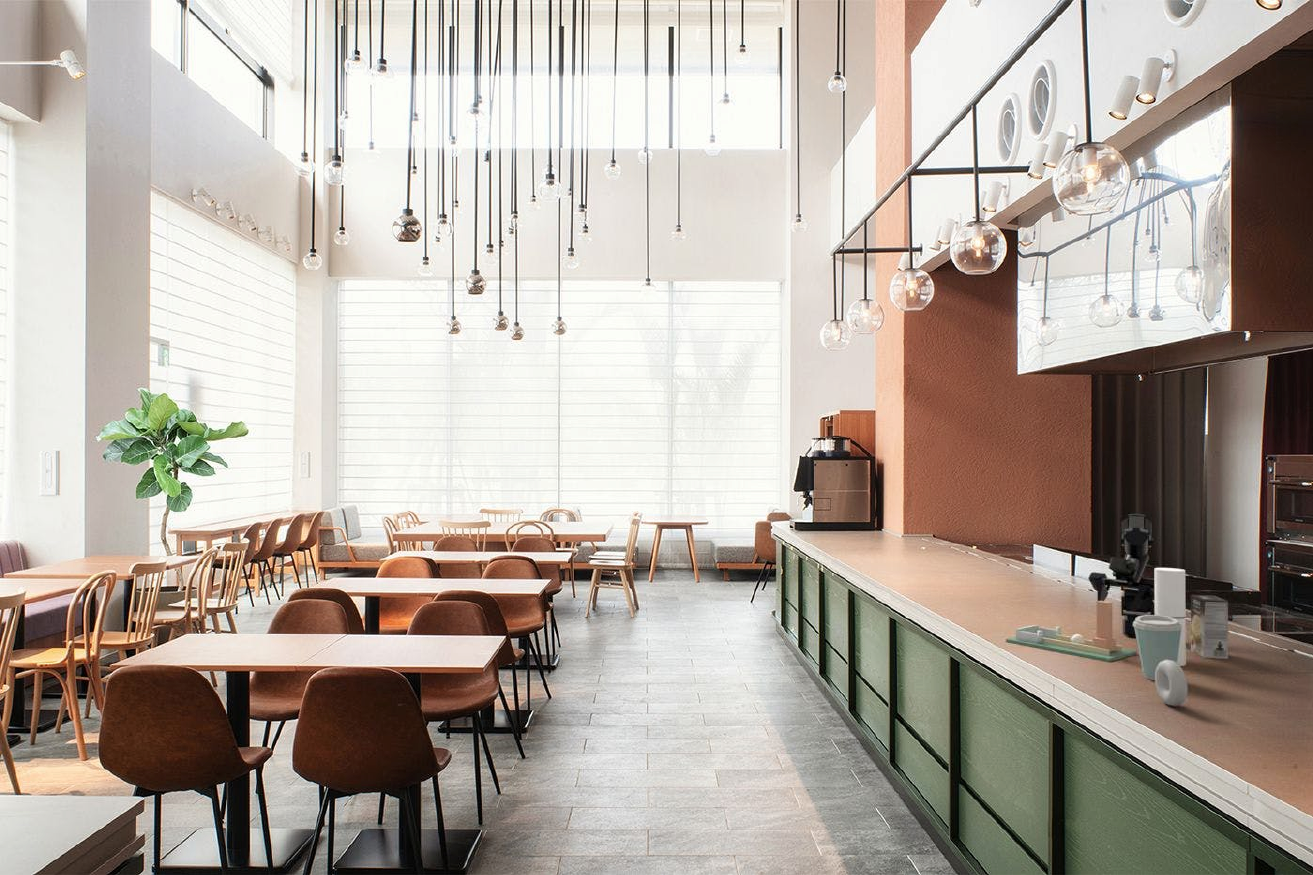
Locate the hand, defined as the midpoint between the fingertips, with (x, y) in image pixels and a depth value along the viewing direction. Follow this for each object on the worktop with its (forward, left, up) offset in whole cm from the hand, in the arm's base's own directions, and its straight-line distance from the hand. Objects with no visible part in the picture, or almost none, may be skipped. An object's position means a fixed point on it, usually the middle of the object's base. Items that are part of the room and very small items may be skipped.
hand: (1115, 607), depth 241 cm
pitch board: (+12, -2, -12) cm, 17 cm away
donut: (+3, +54, -13) cm, 56 cm away
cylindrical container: (-11, +10, -13) cm, 19 cm away
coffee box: (-25, -3, -13) cm, 28 cm away
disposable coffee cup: (-2, +29, -13) cm, 32 cm away
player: (+4, +5, -11) cm, 13 cm away
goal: (+19, -8, -12) cm, 24 cm away
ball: (+10, 0, -10) cm, 14 cm away
